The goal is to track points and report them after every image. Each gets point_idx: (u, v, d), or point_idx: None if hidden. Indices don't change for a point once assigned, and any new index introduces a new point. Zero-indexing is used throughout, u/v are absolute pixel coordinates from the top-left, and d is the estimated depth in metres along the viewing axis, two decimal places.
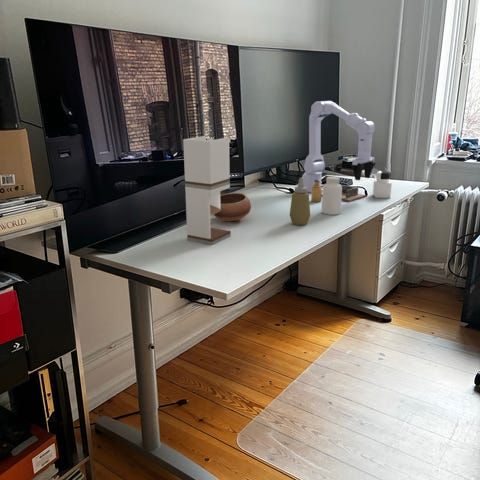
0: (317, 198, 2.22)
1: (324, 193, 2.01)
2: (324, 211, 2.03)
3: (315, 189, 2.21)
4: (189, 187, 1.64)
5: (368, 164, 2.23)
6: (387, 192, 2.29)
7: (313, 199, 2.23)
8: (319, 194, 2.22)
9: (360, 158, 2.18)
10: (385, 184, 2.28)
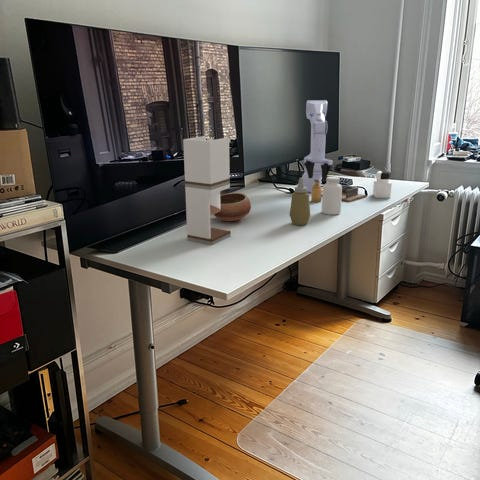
0: (317, 198, 2.22)
1: (324, 193, 2.01)
2: (324, 211, 2.03)
3: (315, 189, 2.21)
4: (189, 187, 1.64)
5: None
6: (387, 192, 2.29)
7: (313, 199, 2.23)
8: (319, 194, 2.22)
9: None
10: (385, 184, 2.28)
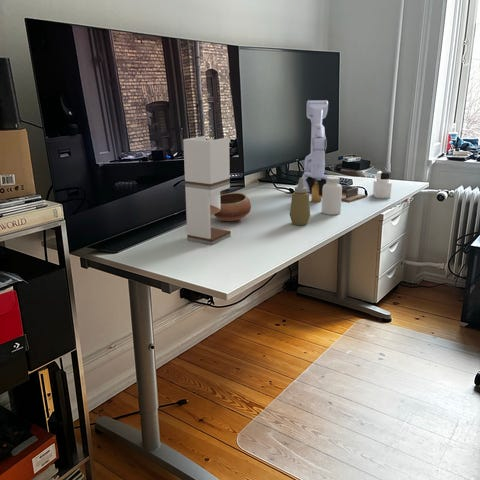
0: (317, 198, 2.22)
1: (324, 193, 2.01)
2: (324, 211, 2.03)
3: (315, 189, 2.21)
4: (189, 187, 1.64)
5: None
6: (387, 192, 2.29)
7: (313, 199, 2.23)
8: None
9: None
10: (385, 184, 2.28)
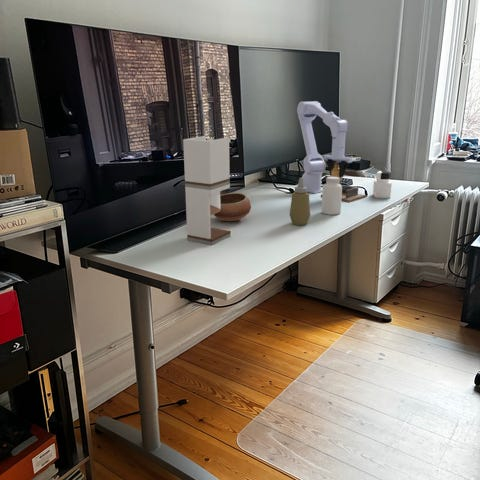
0: None
1: (324, 193, 2.01)
2: (324, 211, 2.03)
3: (334, 171, 2.24)
4: (189, 187, 1.64)
5: None
6: (387, 192, 2.29)
7: None
8: None
9: None
10: (385, 184, 2.28)
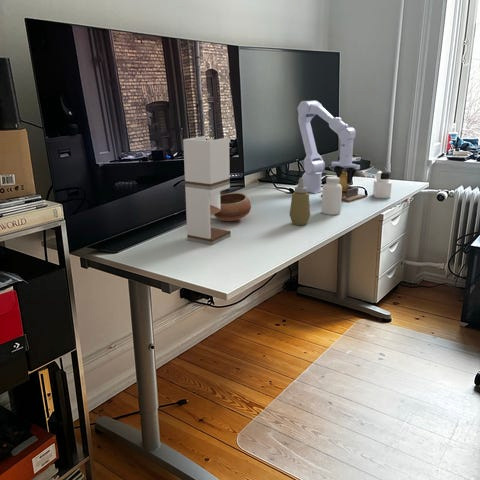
0: (344, 187, 2.28)
1: (324, 193, 2.01)
2: (324, 211, 2.03)
3: (342, 178, 2.27)
4: (189, 187, 1.64)
5: None
6: (387, 192, 2.29)
7: None
8: (346, 183, 2.28)
9: None
10: (385, 184, 2.28)
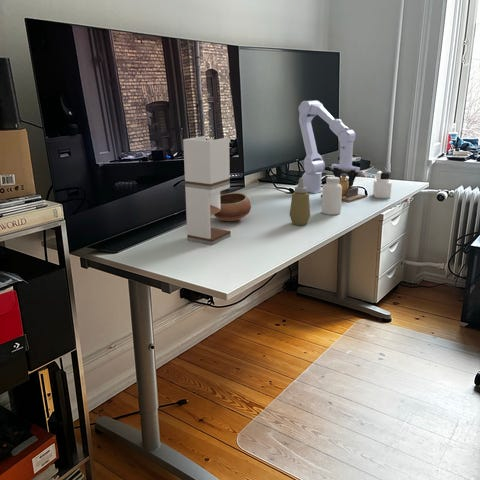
0: (344, 192, 2.29)
1: (324, 193, 2.01)
2: (324, 211, 2.03)
3: (342, 183, 2.28)
4: (189, 187, 1.64)
5: None
6: (387, 192, 2.29)
7: None
8: (346, 188, 2.29)
9: None
10: (385, 184, 2.28)
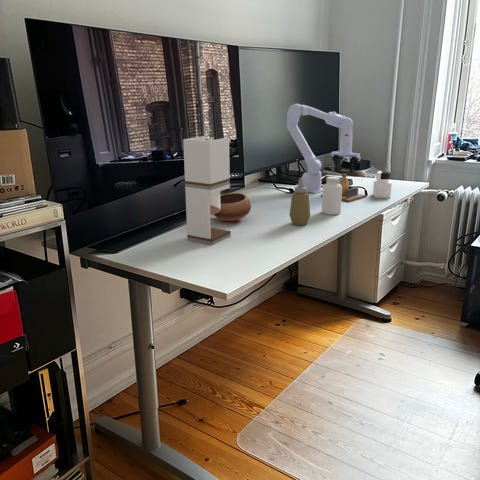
0: (344, 192, 2.29)
1: (324, 193, 2.01)
2: (324, 211, 2.03)
3: (342, 183, 2.28)
4: (189, 187, 1.64)
5: None
6: (387, 192, 2.29)
7: None
8: (346, 188, 2.29)
9: None
10: (385, 184, 2.28)
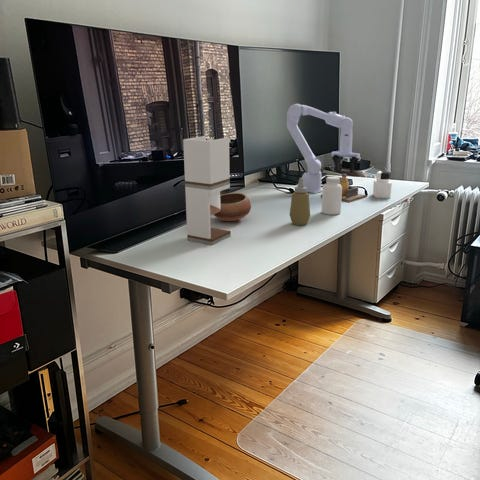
0: (344, 192, 2.29)
1: (324, 193, 2.01)
2: (324, 211, 2.03)
3: (342, 183, 2.28)
4: (189, 187, 1.64)
5: None
6: (387, 192, 2.29)
7: None
8: (346, 188, 2.29)
9: None
10: (385, 184, 2.28)
